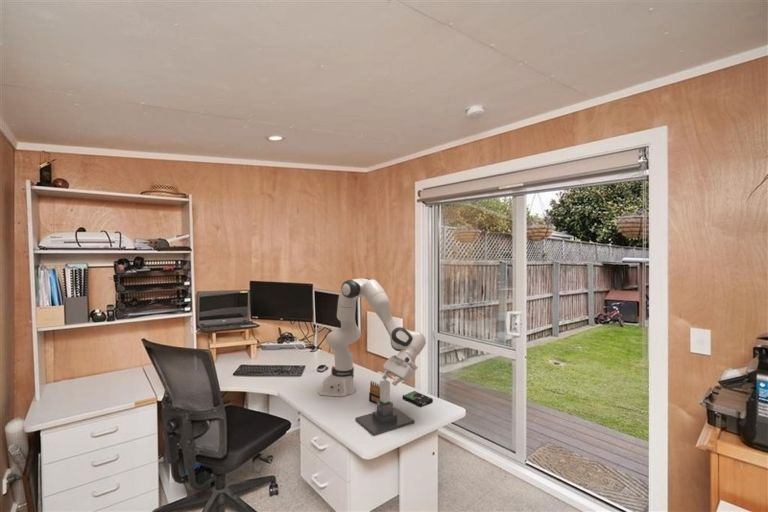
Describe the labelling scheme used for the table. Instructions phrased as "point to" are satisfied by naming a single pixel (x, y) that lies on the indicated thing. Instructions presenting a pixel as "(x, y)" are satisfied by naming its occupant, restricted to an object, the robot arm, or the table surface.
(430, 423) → the table surface
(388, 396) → the column
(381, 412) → the metal stepped base
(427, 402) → the disk drive
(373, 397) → the ammunition clip
